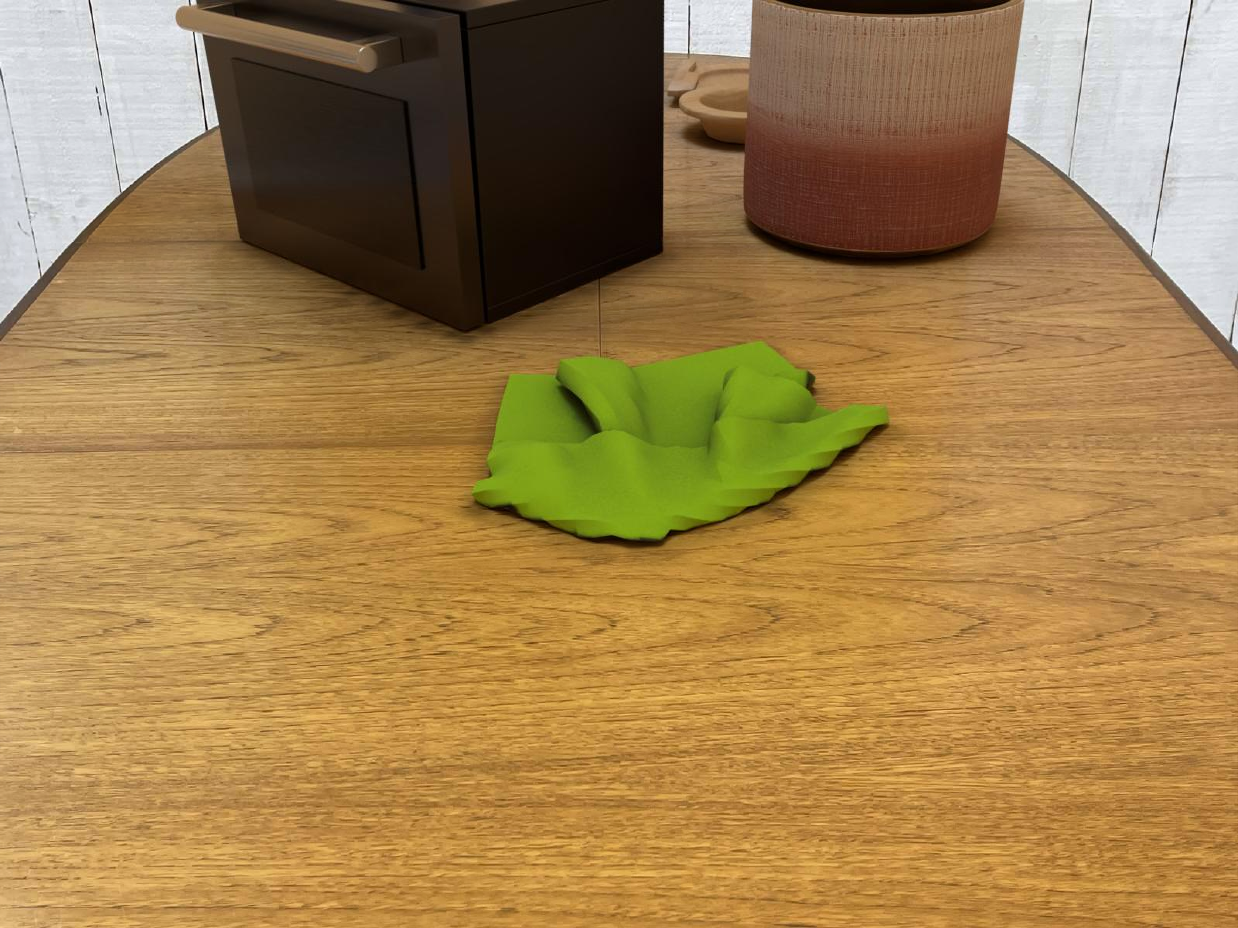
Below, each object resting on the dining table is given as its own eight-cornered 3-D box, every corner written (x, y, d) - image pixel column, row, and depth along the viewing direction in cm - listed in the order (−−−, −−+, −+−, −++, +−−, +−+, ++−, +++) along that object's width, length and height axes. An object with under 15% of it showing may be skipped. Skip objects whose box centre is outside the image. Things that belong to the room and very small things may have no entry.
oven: (488, 323, 75) (466, 10, 66) (262, 234, 90) (218, -35, 80) (663, 251, 85) (665, -29, 76) (435, 181, 100) (413, -63, 91)
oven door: (423, 349, 72) (387, 30, 63) (199, 251, 86) (143, -21, 77) (485, 322, 75) (460, 14, 66) (258, 232, 89) (212, -32, 80)
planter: (1000, 194, 95) (1032, -27, 87) (986, 279, 80) (1022, 23, 72) (769, 175, 100) (779, -35, 92) (716, 252, 85) (722, 9, 77)
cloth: (425, 530, 56) (420, 483, 55) (536, 329, 74) (534, 291, 73) (893, 570, 53) (898, 521, 51) (887, 350, 71) (891, 311, 70)
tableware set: (449, 163, 104) (445, 114, 102) (473, 79, 129) (470, 38, 127) (871, 153, 104) (875, 104, 102) (812, 72, 130) (815, 31, 128)
